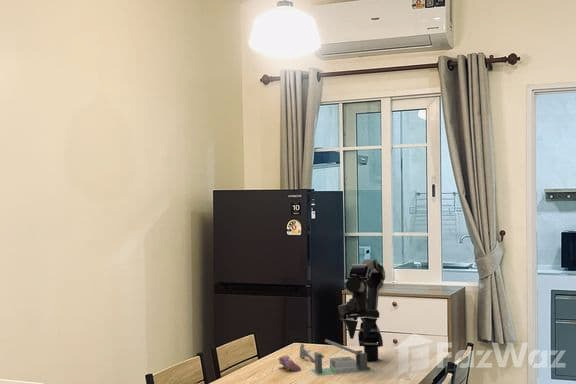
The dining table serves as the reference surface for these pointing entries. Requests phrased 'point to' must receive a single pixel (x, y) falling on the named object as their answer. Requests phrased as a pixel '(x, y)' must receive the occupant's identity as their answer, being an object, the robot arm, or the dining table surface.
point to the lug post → (318, 362)
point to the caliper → (306, 353)
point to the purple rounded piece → (289, 363)
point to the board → (328, 371)
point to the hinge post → (362, 361)
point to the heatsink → (343, 364)
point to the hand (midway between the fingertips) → (358, 338)
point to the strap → (343, 347)
